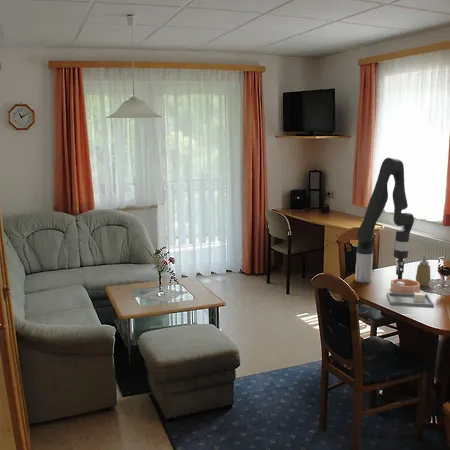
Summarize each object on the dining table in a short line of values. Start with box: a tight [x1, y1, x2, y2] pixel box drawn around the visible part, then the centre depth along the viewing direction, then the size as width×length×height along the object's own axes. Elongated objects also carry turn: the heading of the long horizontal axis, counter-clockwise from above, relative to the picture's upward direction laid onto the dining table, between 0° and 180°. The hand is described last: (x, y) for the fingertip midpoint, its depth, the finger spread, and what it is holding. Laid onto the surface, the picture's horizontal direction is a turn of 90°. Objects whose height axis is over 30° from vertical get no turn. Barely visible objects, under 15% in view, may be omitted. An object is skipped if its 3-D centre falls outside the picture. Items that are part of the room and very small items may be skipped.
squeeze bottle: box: [415, 254, 431, 287], centre depth 293 cm, size 8×8×18 cm
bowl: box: [390, 278, 421, 294], centre depth 284 cm, size 15×15×5 cm
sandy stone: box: [413, 292, 426, 303], centre depth 266 cm, size 5×4×4 cm
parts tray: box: [386, 291, 435, 308], centre depth 267 cm, size 21×16×2 cm
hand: (398, 276), depth 283 cm, fingers open, 8 cm apart
